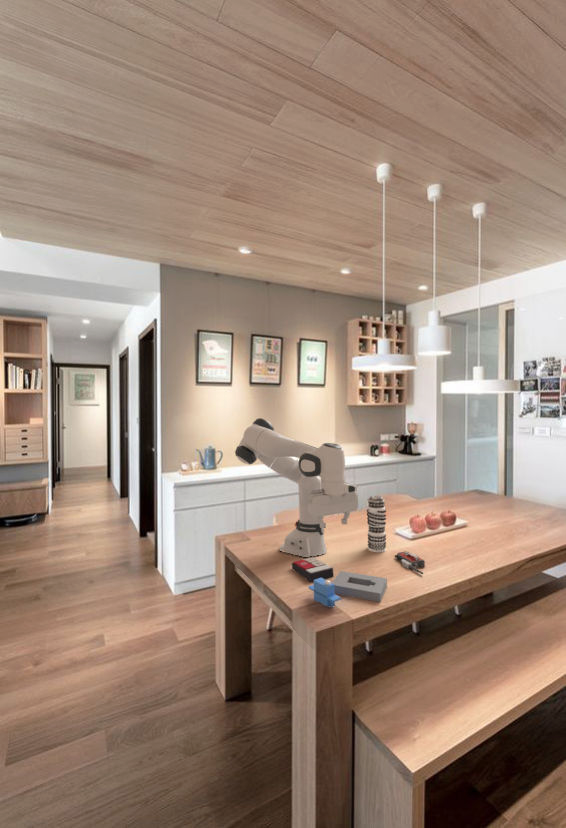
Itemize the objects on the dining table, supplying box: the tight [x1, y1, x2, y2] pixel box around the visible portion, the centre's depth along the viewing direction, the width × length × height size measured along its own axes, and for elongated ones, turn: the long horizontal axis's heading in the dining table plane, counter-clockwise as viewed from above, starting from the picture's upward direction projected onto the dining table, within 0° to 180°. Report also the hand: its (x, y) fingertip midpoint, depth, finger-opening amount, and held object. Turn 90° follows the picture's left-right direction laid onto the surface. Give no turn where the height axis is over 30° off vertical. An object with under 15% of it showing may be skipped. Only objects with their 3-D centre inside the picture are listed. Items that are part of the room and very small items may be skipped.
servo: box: [308, 578, 342, 608], centre depth 136 cm, size 13×4×8 cm, turn 35°
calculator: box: [291, 556, 334, 583], centre depth 161 cm, size 11×4×15 cm
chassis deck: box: [331, 570, 388, 603], centre depth 145 cm, size 18×13×3 cm
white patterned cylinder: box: [366, 495, 387, 553], centre depth 186 cm, size 9×9×25 cm
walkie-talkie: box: [394, 550, 426, 575], centre depth 166 cm, size 9×4×20 cm
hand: (333, 525), depth 142 cm, fingers open, 8 cm apart
